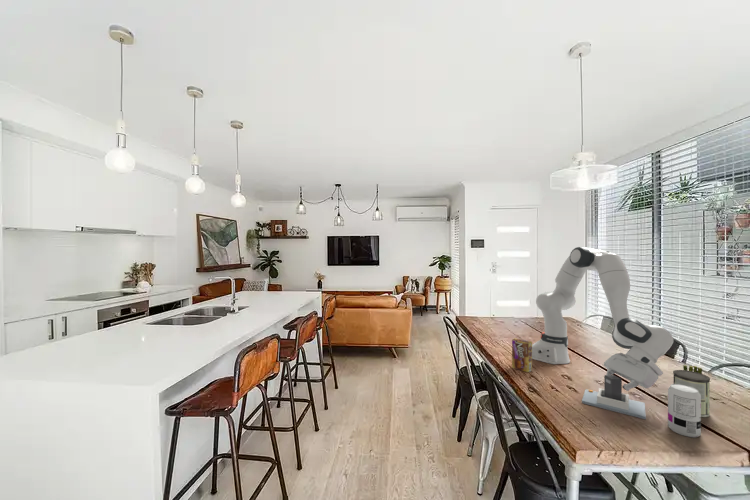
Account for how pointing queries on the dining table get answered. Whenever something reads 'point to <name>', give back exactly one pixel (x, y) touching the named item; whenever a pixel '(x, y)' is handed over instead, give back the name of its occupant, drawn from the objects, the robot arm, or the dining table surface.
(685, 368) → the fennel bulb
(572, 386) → the dining table surface
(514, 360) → the candy box
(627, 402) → the socket base
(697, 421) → the supplement can
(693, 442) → the dining table surface
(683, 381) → the coffee can
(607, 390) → the plug
